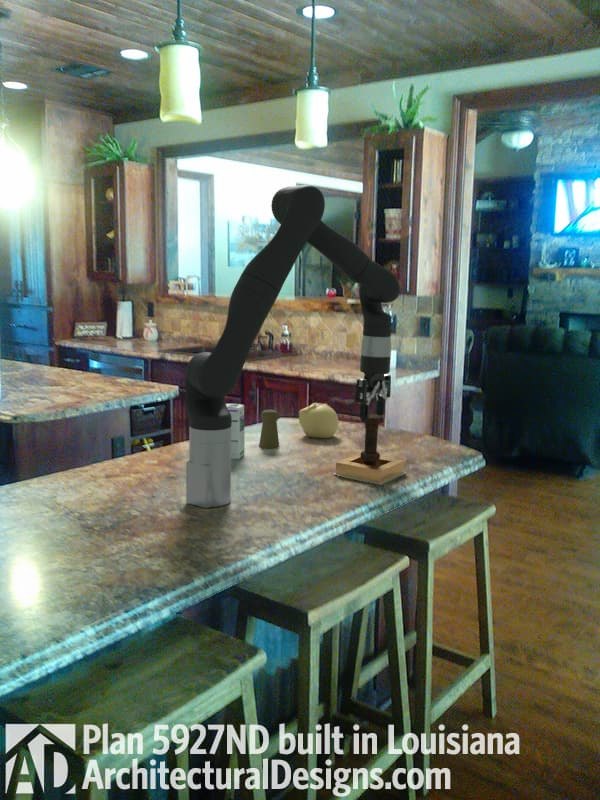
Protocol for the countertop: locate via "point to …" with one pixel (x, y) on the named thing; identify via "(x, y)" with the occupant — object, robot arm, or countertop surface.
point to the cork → (269, 430)
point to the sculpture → (318, 420)
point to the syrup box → (237, 430)
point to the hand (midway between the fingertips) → (372, 417)
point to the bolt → (371, 440)
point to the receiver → (370, 469)
